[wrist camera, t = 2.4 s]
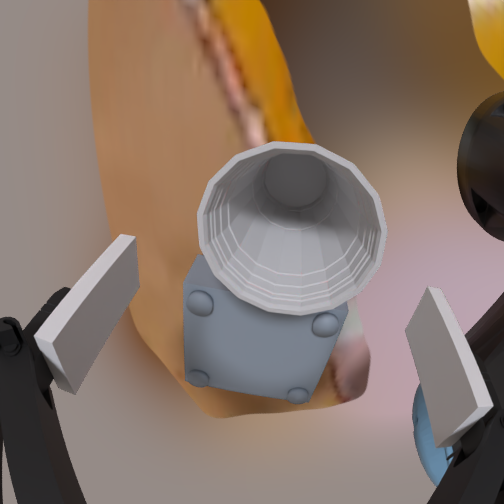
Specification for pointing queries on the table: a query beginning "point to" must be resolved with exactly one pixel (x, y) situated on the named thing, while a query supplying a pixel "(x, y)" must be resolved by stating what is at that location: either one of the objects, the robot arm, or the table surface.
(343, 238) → the plastic cup
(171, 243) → the table surface
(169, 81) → the table surface
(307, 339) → the base block
